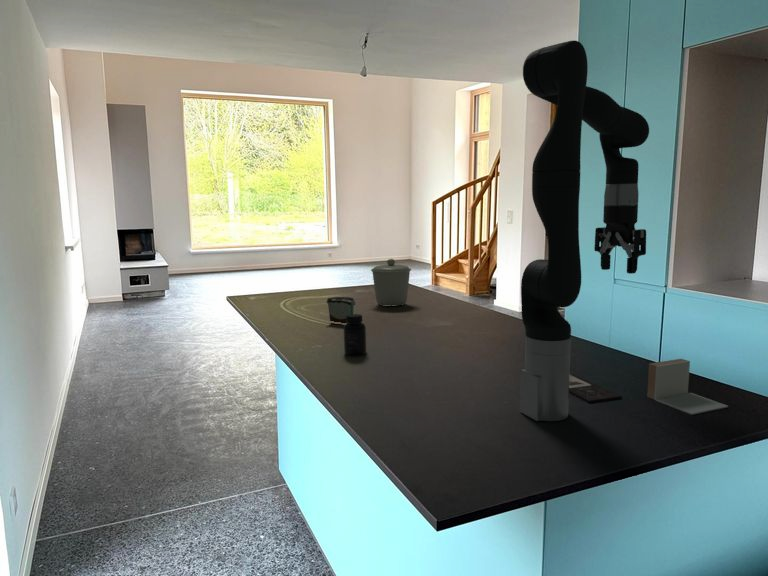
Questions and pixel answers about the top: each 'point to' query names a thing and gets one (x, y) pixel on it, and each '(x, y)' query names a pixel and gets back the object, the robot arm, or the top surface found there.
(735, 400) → the top surface
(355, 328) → the supplement bottle
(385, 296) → the canister
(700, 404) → the mat
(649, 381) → the tile
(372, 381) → the top surface
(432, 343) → the top surface
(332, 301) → the food container
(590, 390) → the chocolate bar
